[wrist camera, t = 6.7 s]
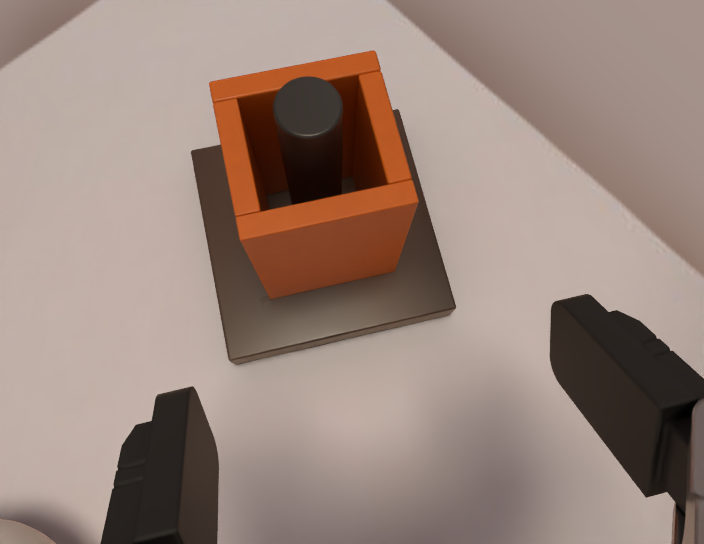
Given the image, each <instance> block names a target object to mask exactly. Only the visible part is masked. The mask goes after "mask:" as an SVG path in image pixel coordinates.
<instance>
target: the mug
mask: <svg viewBox="0 0 704 544" xmlns="http://www.w3.org/2000/svg"><path fill="white" fill-rule="evenodd" d="M0 544H56V543H55V542H53V541H52V540H51V539H50V538H49V537H47V536H46V535H44V534H43V533H41V532H40V531H38V530H36V529H34V528H31V527H29V526H27V525H25V524H22V523H19V522H16V521H11V520H5V519H0Z"/></svg>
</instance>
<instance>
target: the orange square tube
mask: <svg viewBox="0 0 704 544" xmlns="http://www.w3.org/2000/svg"><path fill="white" fill-rule="evenodd" d="M380 70H381V68H380V65H379V61H378V58H377V54H376V52H375V51H368V52H363V53H358V54H352V55H347V56H342V57H337V58H332V59H326V60H321V61H316V62H311V63H306V64H300V65H295V66H290V67H285V68H280V69H274V70H269V71H264V72H259V73H253V74H248V75H243V76H238V77H233V78H227V79H222V80H217V81H212V82H210V83H209V86H210V91H211V97H212V102H213V107H214V112H215V117H216V122H217V127H218V132H219V137H220V143H221V148H222V153H223V158H224V163H225V168H226V173H227V178H228V183H229V188H230V193H231V198H232V203H233V209H234V214H235V217H236V224H237V229H238V234H239V239H240V241H241V243H242V245H243V247H244V249H245V251H246V253H247V255H248V257H249V259H250V261H251V263H252V265H253V267H254V269H255V271H256V273H257V275H258V277H259V278H260V280H261V282H262V284H263V286H264V288H265V290H266V292H267V294H268V296H269V298H270V299H274V298H278V297H283V296H287V295H292V294H296V293H301V292H305V291H310V290H314V289H318V288H323V287H327V286H332V285H336V284H341V283H345V282H350V281H354V280H359V279H363V278H367V277H372V276H376V275H381V274H385V273H390V272H394V271H395V269H396V266H397V263H398V260H399V258H400V255H401V252H402V249H403V246H404V243H405V240H406V237H407V234H408V231H409V229H410V226H411V223H412V220H413V217H414V214H415V211H416V208H417V205H418V202H419V200H418V197H417V193H416V190H415V186H414V183H413V181H412V180H411V179H412V177H411V173H410V170H409V166H408V163H407V159H406V156H405V152H404V149H403V145H402V142H401V138H400V135H399V131H398V128H397V124H396V121H395V117H394V114H393V110H392V107H391V103H390V100H389V96H388V93H387V90H386V86H385V83H384V79H383V76H382V73H381V71H380ZM305 76H311V77H317V78H321V79H323V80H325V81H327V82H329V83H330V84H331V85H333V86H334V88H335V89H336V90H337V91H338V92H339V94H340V96H341V99H342V102H343V155H342V179H343V178H348V177H353V181H354V185H355V189H356V192H351V193H347V194H342V195H337V196H332V197H328V198H323V199H318V200H314V201H309V202H304V203H299V204H295V205H290V206H285V207H281V208H276V209H271V210H270V209H269V204H268V200H267V194H272V193H277V192H281V191H286V190H289V188H288V183H287V178H286V173H285V168H284V164H283V159H282V154H281V149H280V144H279V139H278V134H277V129H276V124H275V120H274V115H273V102H274V99H275V96H276V94H277V93H278V91H279V90H280V89H281V87H282V86H284V85H285V84H286V83H287V82H289V81H291V80H293V79H295V78H299V77H305Z"/></svg>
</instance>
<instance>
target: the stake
mask: <svg viewBox="0 0 704 544" xmlns="http://www.w3.org/2000/svg"><path fill="white" fill-rule="evenodd" d="M393 114H394V117H395V121H396V124H397V128H398V131H399V135H400V138H401V142H402V145H403V149H404V152H405V156H406V159H407V163H408V166H409V170H410V173H411V177H412V179H411V180H412V181H413V183H414V186H415V190H416V193H417V197H418V200H419V202H418V205H417V208H416V211H415V214H414V217H413V220H412V223H411V226H410V229H409V231H408V234H407V237H406V240H405V243H404V246H403V249H402V252H401V255H400V258H399V260H398V263H397V266H396V269H395V271H394V272H390V273H385V274H381V275H376V276H372V277H367V278H363V279H359V280H354V281H350V282H345V283H341V284H336V285H332V286H327V287H323V288H318V289H314V290H310V291H305V292H301V293H296V294H292V295H287V296H283V297H278V298H274V299H270V298H269V296H268V294H267V292H266V290H265V288H264V286H263V284H262V282H261V280H260V278H259V277H258V275H257V273H256V271H255V269H254V267H253V265H252V263H251V261H250V259H249V257H248V255H247V253H246V251H245V249H244V247H243V245H242V243H241V241H240V239H239V234H238V229H237V224H236V217H235V214H234V209H233V203H232V198H231V193H230V188H229V183H228V178H227V173H226V168H225V163H224V158H223V153H222V148H221V145H217V146H212V147H207V148H202V149H197V150H192V151H191V155H192V161H193V166H194V172H195V177H196V183H197V188H198V194H199V199H200V205H201V210H202V216H203V221H204V227H205V232H206V238H207V243H208V249H209V254H210V260H211V265H212V271H213V276H214V282H215V287H216V293H217V298H218V304H219V309H220V315H221V320H222V326H223V331H224V337H225V342H226V348H227V353H228V359H229V361H231V362H232V363H234V364H236V365H237V364H241V363H245V362H250V361H254V360H258V359H262V358H267V357H271V356H275V355H280V354H284V353H288V352H293V351H297V350H301V349H305V348H310V347H314V346H318V345H323V344H327V343H331V342H335V341H340V340H344V339H348V338H353V337H357V336H361V335H366V334H370V333H374V332H378V331H383V330H387V329H391V328H396V327H400V326H404V325H408V324H413V323H417V322H421V321H426V320H430V319H434V318H439V317H443V316H447V315H450V314H451V313H452V312H453V311H454V310H455V309H456V305H455V301H454V298H453V295H452V291H451V288H450V284H449V281H448V277H447V274H446V270H445V267H444V264H443V260H442V257H441V253H440V250H439V246H438V243H437V239H436V236H435V232H434V229H433V226H432V222H431V219H430V215H429V212H428V208H427V205H426V201H425V198H424V195H423V191H422V188H421V184H420V181H419V177H418V174H417V170H416V167H415V164H414V160H413V157H412V153H411V150H410V146H409V143H408V139H407V136H406V132H405V129H404V126H403V122H402V119H401V115H400V112H399V110H398V109H396V110H393ZM273 115H274V120H275V124H276V129H277V134H278V139H279V144H280V149H281V154H282V159H283V164H284V168H285V173H286V178H287V183H288V188H289V190H286V191H281V192H277V193H272V194H267V200H268V204H269V209H270V210H271V209H276V208H281V207H285V206H290V205H295V204H299V203H304V202H309V201H314V200H318V199H323V198H328V197H332V196H337V195H342V194H347V193H351V192H356V189H355V185H354V181H353V177H348V178H343V179H342V155H343V102H342V99H341V96H340V94H339V92H338V91H337V90H336V89H335V88H334V86H333V85H331V84H330V83H329V82H327V81H325V80H323V79H321V78H317V77H311V76H305V77H299V78H295V79H293V80H291V81H289V82H287V83H286V84H285V85H284V86H282V87H281V89H280V90H279V91H278V93H277V94H276V96H275V99H274V102H273Z"/></svg>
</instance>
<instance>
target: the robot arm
mask: <svg viewBox="0 0 704 544" xmlns="http://www.w3.org/2000/svg"><path fill="white" fill-rule="evenodd" d="M550 361H551V366H552V369H553V372H554V375H555V377H556V379H557V381H558V382H559V384H560V385H561V386H562V388H563V389H564V390H565V392H566V393H567V394H568V396H569V397H570V398H571V400H572V401H573V402H574V404H575V405H576V406H577V408H578V409H579V410H580V411H581V413H582V414H583V415H584V417H585V418H586V419H587V421H588V422H589V423H590V425H591V426H592V427H593V429H594V430H595V431H596V432H597V434H598V435H599V436H600V438H601V439H602V440H603V442H604V443H605V444H606V446H607V447H608V448H609V450H610V451H611V452H612V454H613V455H614V456H615V457H616V459H617V460H618V461H619V463H620V464H621V465H622V467H623V468H624V469H625V471H626V472H627V473H628V475H629V476H630V477H631V479H632V480H633V481H634V482H635V484H636V485H637V486H638V488H639V489H640V490H641V492H642V493H643V494H644V496H645V497H650V496H654V495H657V494H661V493H665V492H668V494H669V495H670V496H671V497H672V498H673V500H674V501H675V504H674V509H673V522H672V542H671V544H704V379H703V378H702V377H701V376H700V375H699V374H698V373H697V372H696V371H694V370H693V369H692V368H691V367H690V366H689V365H688V364H687V363H686V362H685V361H683V360H682V359H681V358H680V357H679V356H678V355H677V354H676V353H675V352H673V351H670V349H669V347H668V346H667V345H666V344H665V343H664V342H662V341H661V340H660V339H657V338H656V335H655V334H654V333H652V332H651V331H650V330H649V329H648V328H647V327H646V326H645V325H644V324H643V323H641V322H640V321H639V320H637V319H634V318H632V317H630V316H628V315H626V314H624V313H622V312H619V311H617V310H616V311H612V312H608V311H607V310H606V309H605V308H604V307H603V306H602V305H601V304H600V303H599V302H597V301H596V300H595V299H594V298H593V297H592V296H591V295H589V294H584V295H580V296H576V297H572V298H568V299H563V300H559V301H555V302H554V303H553V304H552V307H551V330H550ZM117 467H118V471H116V475H115V480H114V489H112V494H111V498H110V503H109V507H108V512H107V517H106V521H105V526H104V530H103V535H102V540H101V544H217V531H218V482H219V461H218V453H217V447H216V443H215V439H214V436H213V434H212V431H211V428H210V426H209V423H208V420H207V418H206V415H205V412H204V410H203V407H202V405H201V402H200V399H199V397H198V394H197V392H196V390H195V388H194V387H188V388H184V389H179V390H175V391H171V392H167V393H162V394H158V395H157V396H156V400H155V405H154V411H153V417H152V421H150V422H146V423H142V424H137V425H136V426H135V427H134V429H133V430H132V431H131V433H130V434H129V436H128V437H127V439H126V440H125V442H124V443H123V445H122V448H121V452H120V457H119V461H118V466H117Z"/></svg>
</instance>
